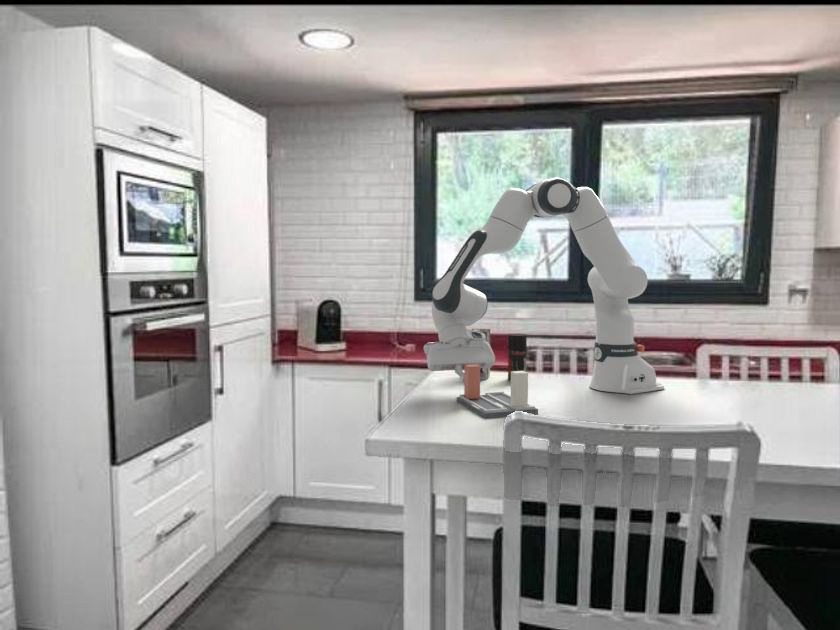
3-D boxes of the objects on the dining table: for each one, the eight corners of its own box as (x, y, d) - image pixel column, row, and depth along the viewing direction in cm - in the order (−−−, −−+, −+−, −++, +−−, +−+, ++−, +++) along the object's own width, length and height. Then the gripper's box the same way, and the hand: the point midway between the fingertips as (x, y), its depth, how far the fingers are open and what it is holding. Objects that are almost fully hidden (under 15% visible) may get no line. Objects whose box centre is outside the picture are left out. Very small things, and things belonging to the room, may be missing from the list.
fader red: (475, 395, 181) (475, 364, 181) (479, 398, 179) (480, 366, 178) (464, 396, 180) (464, 365, 180) (468, 398, 178) (468, 366, 177)
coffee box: (471, 374, 222) (472, 328, 221) (490, 374, 221) (490, 328, 219) (468, 379, 213) (468, 331, 212) (487, 379, 212) (488, 331, 210)
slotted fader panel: (504, 397, 186) (504, 391, 186) (538, 413, 167) (538, 406, 167) (456, 401, 181) (456, 394, 181) (485, 418, 162) (485, 411, 162)
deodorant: (525, 381, 209) (525, 336, 208) (506, 380, 210) (507, 335, 209) (526, 378, 215) (527, 333, 213) (509, 377, 216) (509, 333, 215)
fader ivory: (522, 403, 172) (522, 370, 171) (527, 406, 169) (528, 372, 168) (510, 404, 171) (510, 371, 170) (515, 407, 168) (516, 373, 167)
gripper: (424, 336, 185) (435, 375, 177) (489, 333, 192) (503, 371, 183) (419, 349, 190) (430, 388, 182) (483, 346, 196) (496, 383, 188)
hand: (467, 379), depth 182 cm, fingers closed
